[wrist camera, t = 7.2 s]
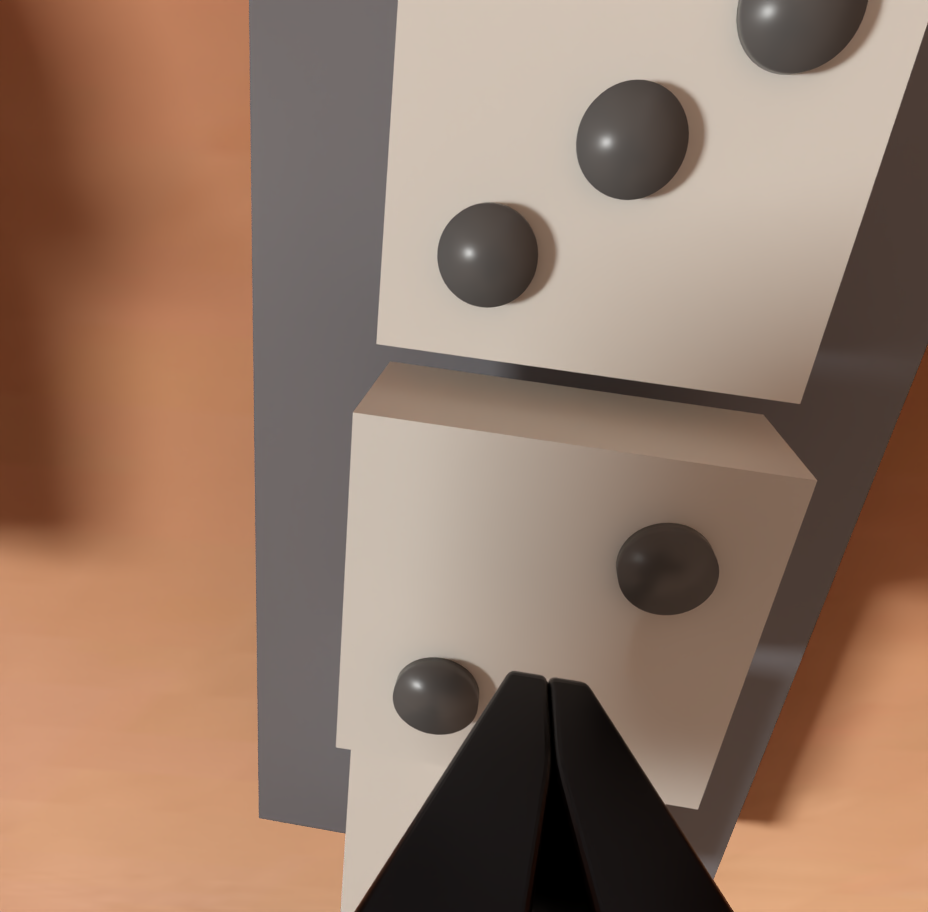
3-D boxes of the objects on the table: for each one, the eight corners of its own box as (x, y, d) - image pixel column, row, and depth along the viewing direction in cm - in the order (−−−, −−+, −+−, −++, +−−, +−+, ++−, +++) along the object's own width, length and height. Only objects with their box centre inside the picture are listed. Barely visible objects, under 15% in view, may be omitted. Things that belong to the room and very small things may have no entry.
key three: (753, 357, 10) (806, 410, 8) (406, 309, 10) (373, 348, 8) (880, -73, 8) (995, -147, 6) (441, -119, 8) (406, -208, 6)
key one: (602, 867, 14) (610, 982, 12) (365, 825, 15) (337, 931, 13) (656, 681, 12) (678, 784, 10) (380, 636, 13) (350, 728, 11)
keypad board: (688, 817, 17) (705, 897, 15) (288, 748, 17) (259, 817, 16) (1012, -89, 10) (1123, -145, 8) (300, -164, 10) (245, -233, 8)
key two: (673, 702, 11) (700, 822, 9) (368, 652, 11) (331, 758, 9) (763, 414, 9) (824, 489, 7) (390, 361, 9) (348, 418, 7)
